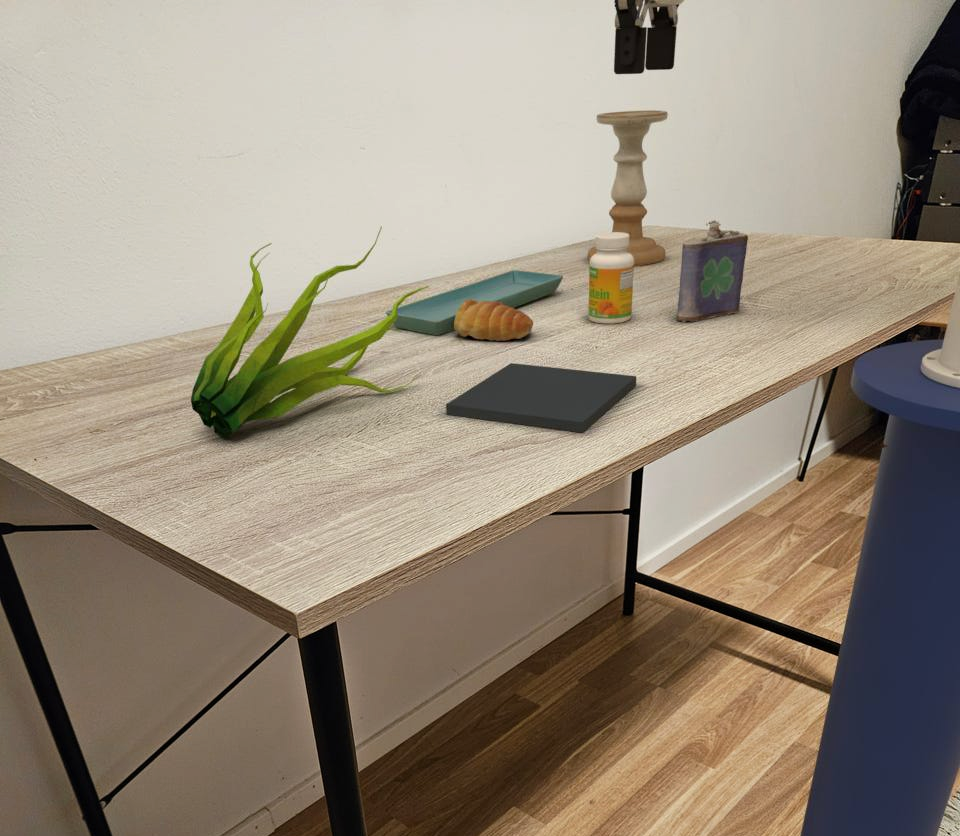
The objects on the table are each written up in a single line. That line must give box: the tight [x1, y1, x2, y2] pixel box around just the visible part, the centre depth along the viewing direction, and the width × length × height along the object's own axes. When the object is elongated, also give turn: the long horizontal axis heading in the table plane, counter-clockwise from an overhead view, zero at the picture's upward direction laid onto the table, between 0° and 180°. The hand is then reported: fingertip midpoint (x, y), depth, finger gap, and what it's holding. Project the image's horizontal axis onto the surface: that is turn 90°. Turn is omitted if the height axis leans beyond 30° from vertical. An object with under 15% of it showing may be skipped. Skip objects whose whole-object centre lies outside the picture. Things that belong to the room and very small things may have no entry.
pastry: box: [454, 299, 534, 342], centre depth 107 cm, size 9×7×4 cm
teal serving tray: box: [385, 269, 564, 336], centre depth 118 cm, size 26×9×2 cm, turn 140°
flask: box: [676, 219, 749, 323], centre depth 108 cm, size 9×3×11 cm, turn 117°
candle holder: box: [587, 109, 669, 267], centre depth 137 cm, size 12×12×20 cm
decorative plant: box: [190, 226, 430, 440], centre depth 88 cm, size 18×30×15 cm, turn 125°
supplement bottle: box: [587, 231, 635, 325], centre depth 109 cm, size 5×5×10 cm
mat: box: [445, 362, 637, 434], centre depth 87 cm, size 14×14×1 cm
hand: (644, 71), depth 97 cm, fingers open, 9 cm apart
